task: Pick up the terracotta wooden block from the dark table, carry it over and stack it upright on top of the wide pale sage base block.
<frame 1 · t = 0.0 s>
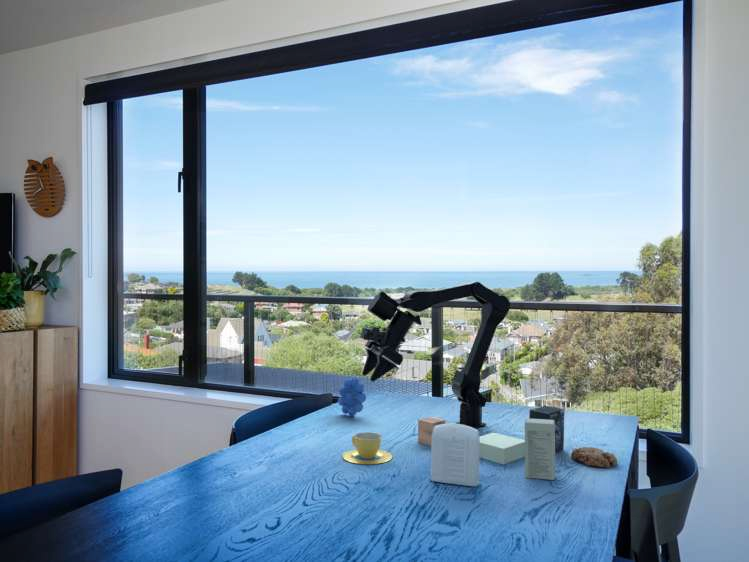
hand: (367, 377, 167), 15 cm above the table, tool tilted 35°, fingers open, 9 cm apart
terracotta block: (431, 442, 157), on the table
skincare box: (539, 477, 132), on the table
box: (546, 451, 151), on the table
cup: (367, 458, 144), on the table
white gravestone: (454, 483, 127), on the table
sage base block: (498, 456, 147), on the table
cookie: (593, 463, 143), on the table
grapes: (353, 416, 185), on the table
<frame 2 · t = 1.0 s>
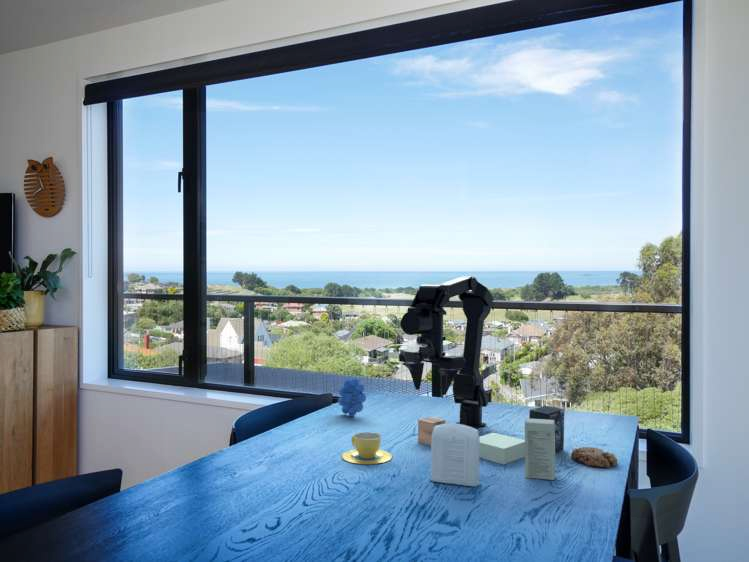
hand: (430, 392, 157), 13 cm above the table, tool pointing down, fingers open, 9 cm apart
nothing on the table moved.
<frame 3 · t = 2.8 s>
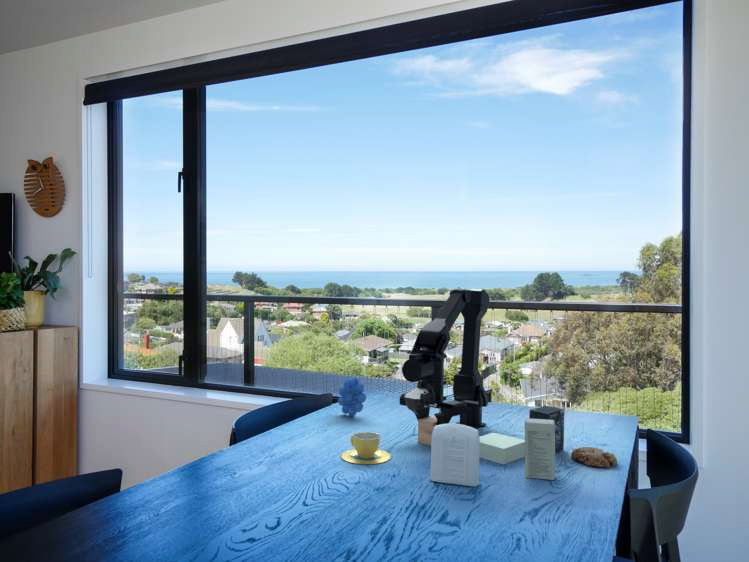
hand: (431, 436, 157), 2 cm above the table, tool pointing down, fingers closed on terracotta block, 5 cm apart
terracotta block: (431, 442, 157), on the table, touching gripper
everything else where it was.
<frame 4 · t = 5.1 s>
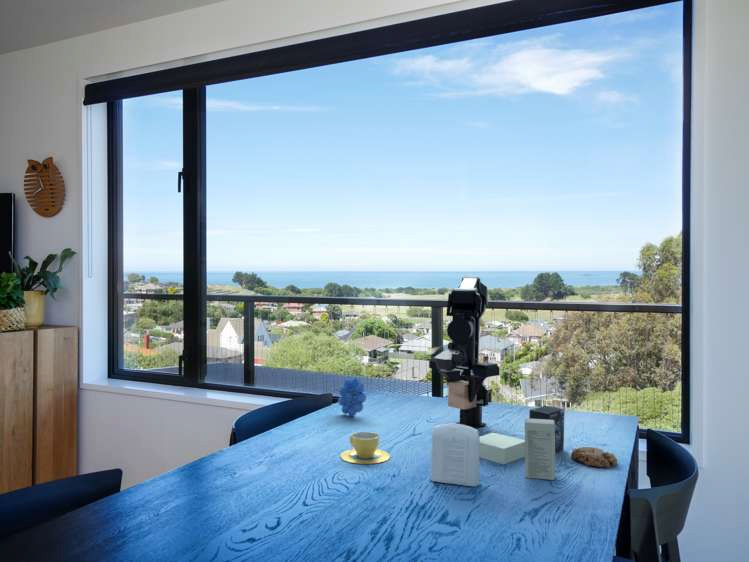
hand: (462, 400, 152), 12 cm above the table, tool pointing down, fingers closed on terracotta block, 5 cm apart
terracotta block: (462, 406, 152), point 11 cm above the table, touching gripper
everything else where it was.
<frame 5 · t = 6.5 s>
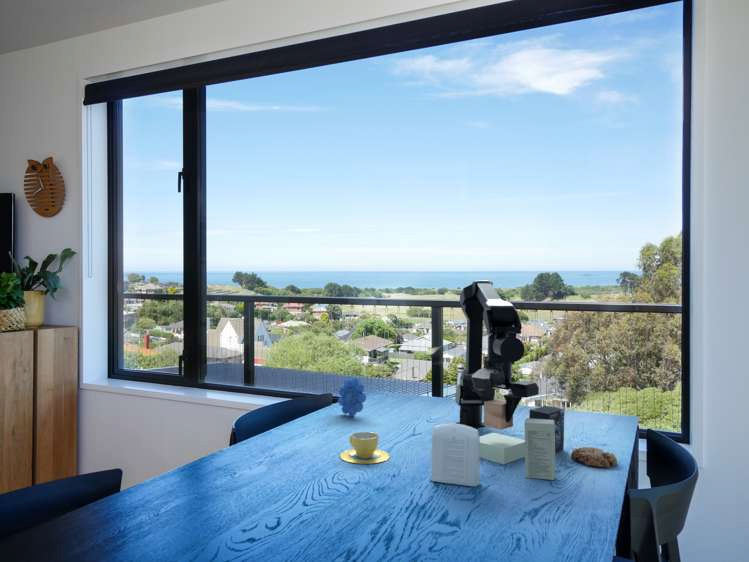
hand: (498, 419, 147), 9 cm above the table, tool pointing down, fingers closed on terracotta block, 5 cm apart
terracotta block: (498, 426, 147), point 7 cm above the table, touching gripper
everything else where it was.
when the fingers open (6 cm above the table, at t = 7.8 s): terracotta block drops 1 cm, resting on sage base block.
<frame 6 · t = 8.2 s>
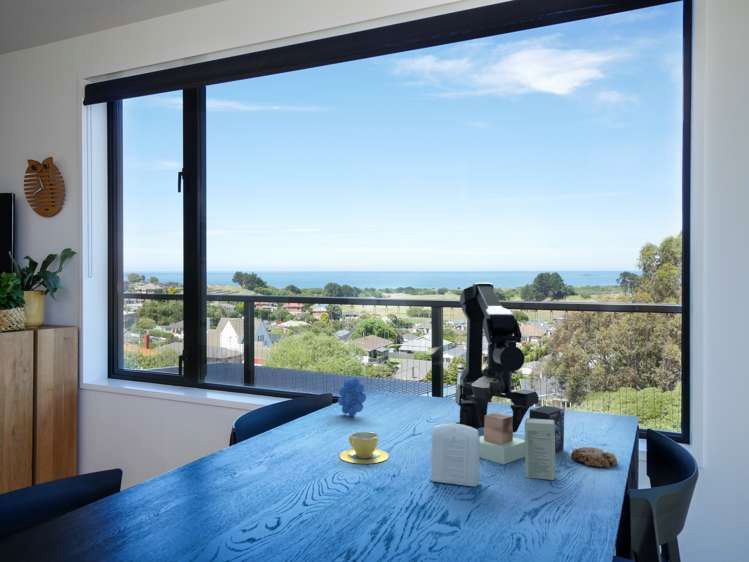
hand: (498, 428, 147), 6 cm above the table, tool pointing down, fingers open, 9 cm apart
terracotta block: (498, 440, 147), point 4 cm above the table, touching sage base block
sage base block: (498, 456, 147), on the table, touching terracotta block
everything else where it was.
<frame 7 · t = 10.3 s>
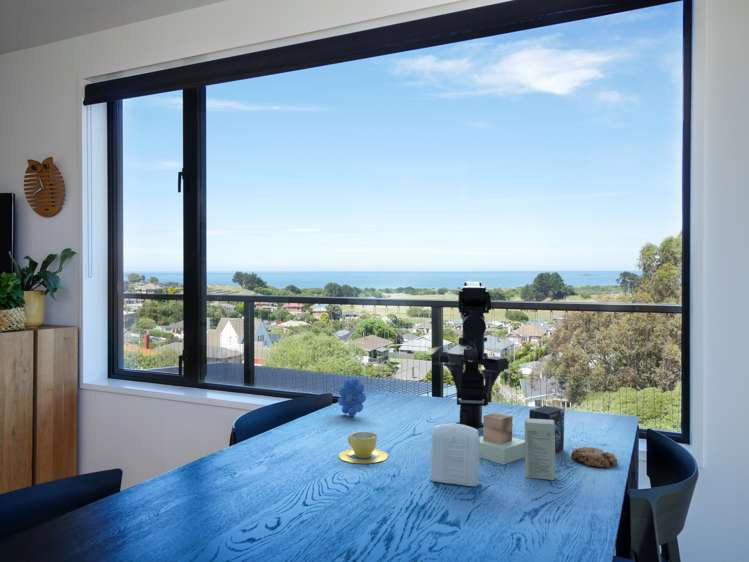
hand: (472, 392, 159), 13 cm above the table, tool pointing down, fingers open, 9 cm apart
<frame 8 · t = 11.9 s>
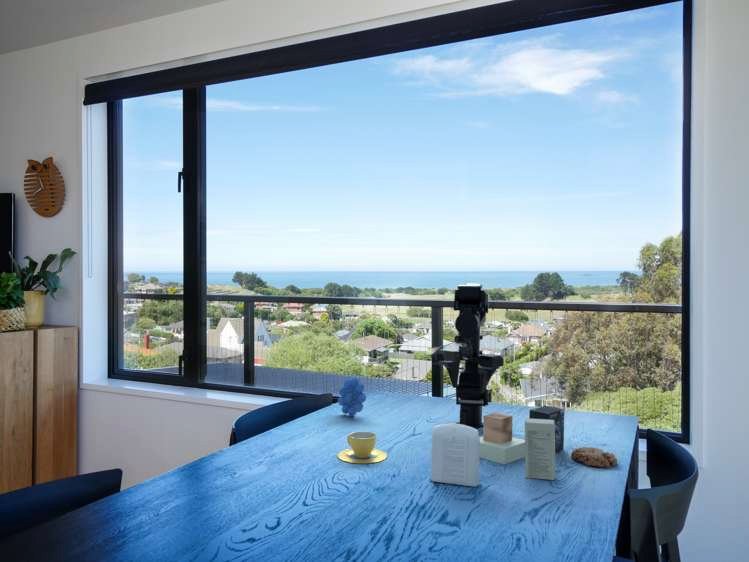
hand: (468, 390, 161), 13 cm above the table, tool pointing down, fingers open, 9 cm apart
terracotta block: (497, 440, 147), point 4 cm above the table
sage base block: (498, 456, 147), on the table
at the end: terracotta block 0.4 cm off-centre on the sage base block, point 4.0 cm above the sage base block's base; terracotta block tilted 0°; the gripper is holding nothing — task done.
